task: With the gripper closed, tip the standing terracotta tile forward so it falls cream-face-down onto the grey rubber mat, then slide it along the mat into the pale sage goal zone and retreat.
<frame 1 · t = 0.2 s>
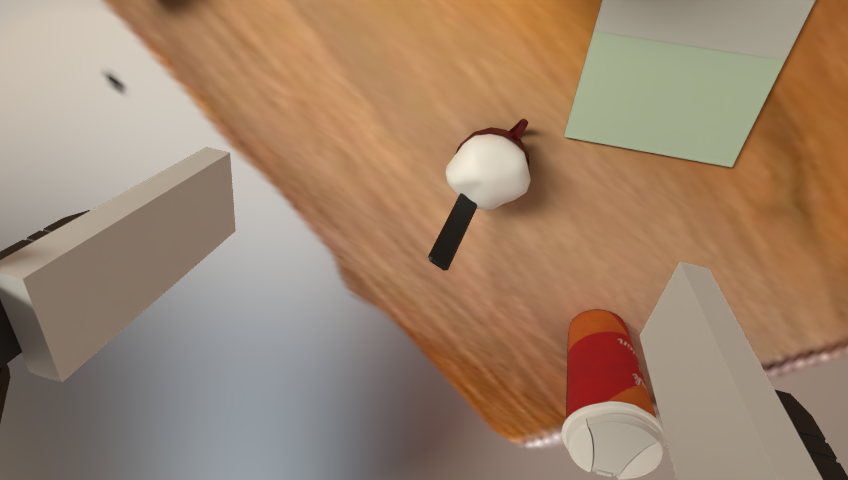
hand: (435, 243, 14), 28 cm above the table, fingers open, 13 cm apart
paper cup: (597, 329, 48), on the table
cocoa: (491, 155, 41), on the table
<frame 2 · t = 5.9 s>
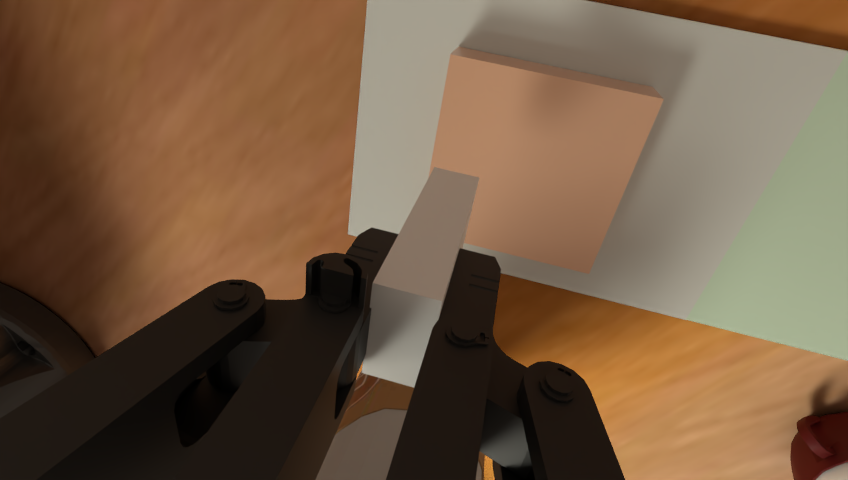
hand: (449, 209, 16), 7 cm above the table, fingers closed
mat: (634, 177, 21), on the table
tile: (437, 144, 21), point 2 cm above the table, tilted 90°, touching mat
coffee cup: (436, 340, 29), on the table
cocoa: (838, 435, 26), on the table
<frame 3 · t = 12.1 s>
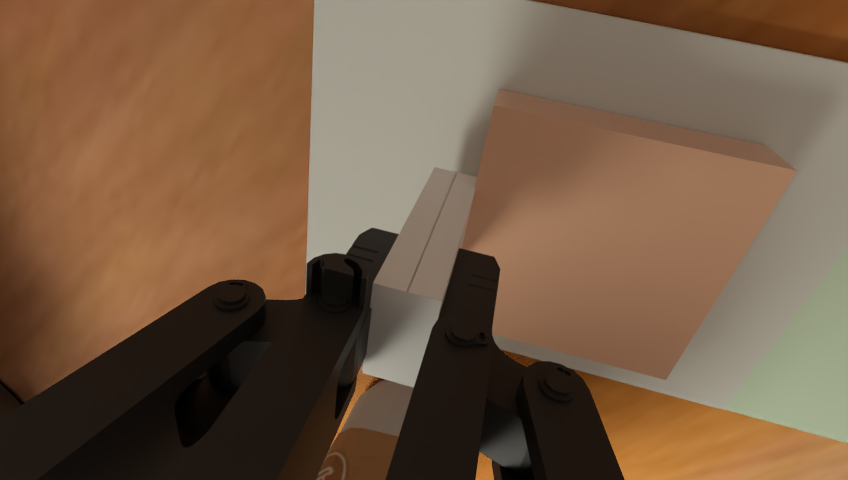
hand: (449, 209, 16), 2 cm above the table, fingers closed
mat: (663, 240, 17), on the table
tile: (469, 214, 16), point 2 cm above the table, tilted 90°, touching gripper, mat
coffee cup: (417, 414, 24), on the table
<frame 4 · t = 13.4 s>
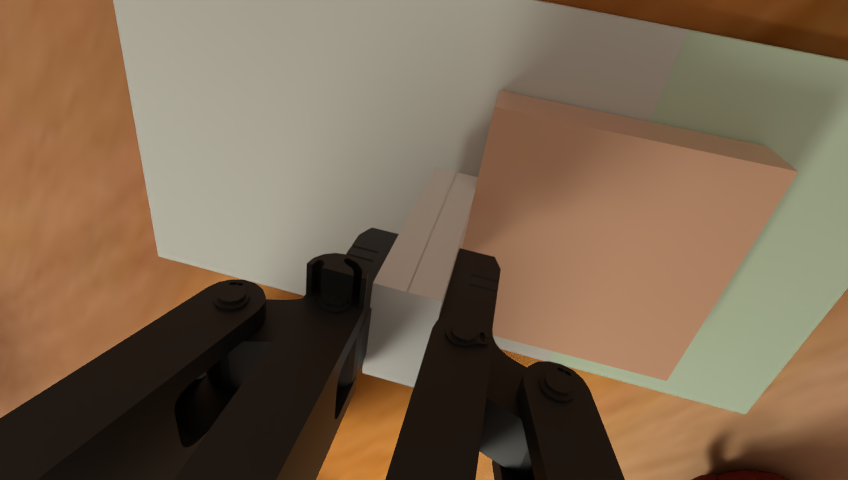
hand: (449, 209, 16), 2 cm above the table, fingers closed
mat: (465, 191, 17), on the table
tile: (469, 215, 16), point 2 cm above the table, tilted 90°, touching gripper
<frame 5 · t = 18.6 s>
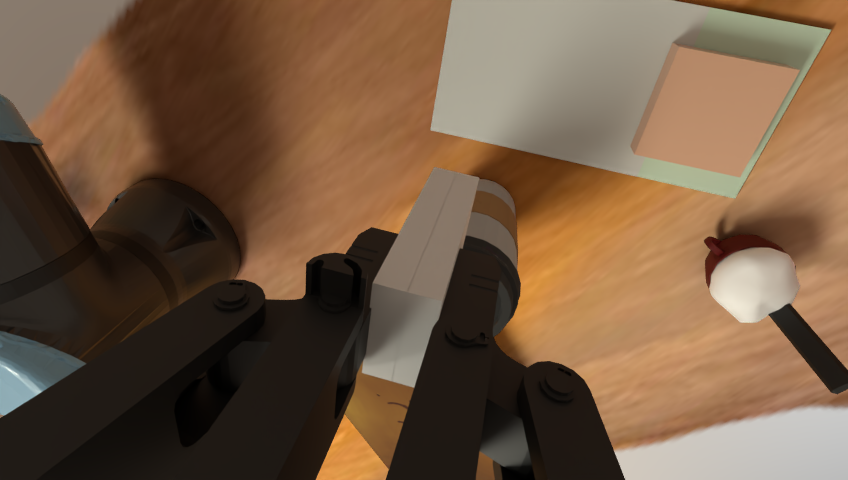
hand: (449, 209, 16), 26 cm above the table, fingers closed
diary: (436, 385, 59), on the table
mat: (604, 85, 37), on the table
tile: (652, 100, 36), point 2 cm above the table, tilted 90°, touching mat
coffee cup: (481, 206, 45), on the table
cocoa: (736, 257, 42), on the table
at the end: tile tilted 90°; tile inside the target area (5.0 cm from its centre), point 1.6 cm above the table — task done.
